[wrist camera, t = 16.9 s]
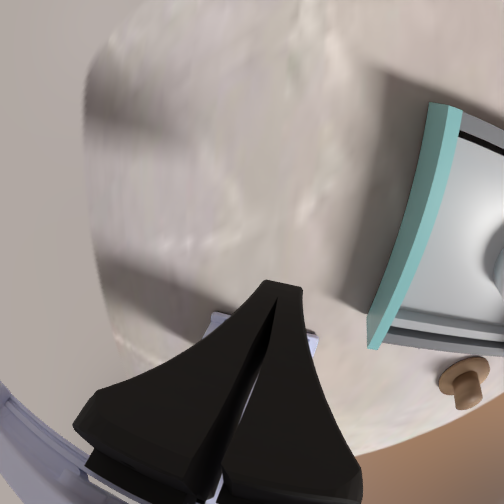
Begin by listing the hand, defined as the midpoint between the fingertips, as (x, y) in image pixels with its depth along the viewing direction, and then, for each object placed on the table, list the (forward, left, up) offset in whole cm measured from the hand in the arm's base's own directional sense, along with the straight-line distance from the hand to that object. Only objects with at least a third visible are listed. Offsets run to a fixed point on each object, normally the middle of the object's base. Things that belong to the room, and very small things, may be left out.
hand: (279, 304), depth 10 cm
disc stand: (+20, -14, -9) cm, 26 cm away
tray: (+13, 0, -9) cm, 16 cm away
